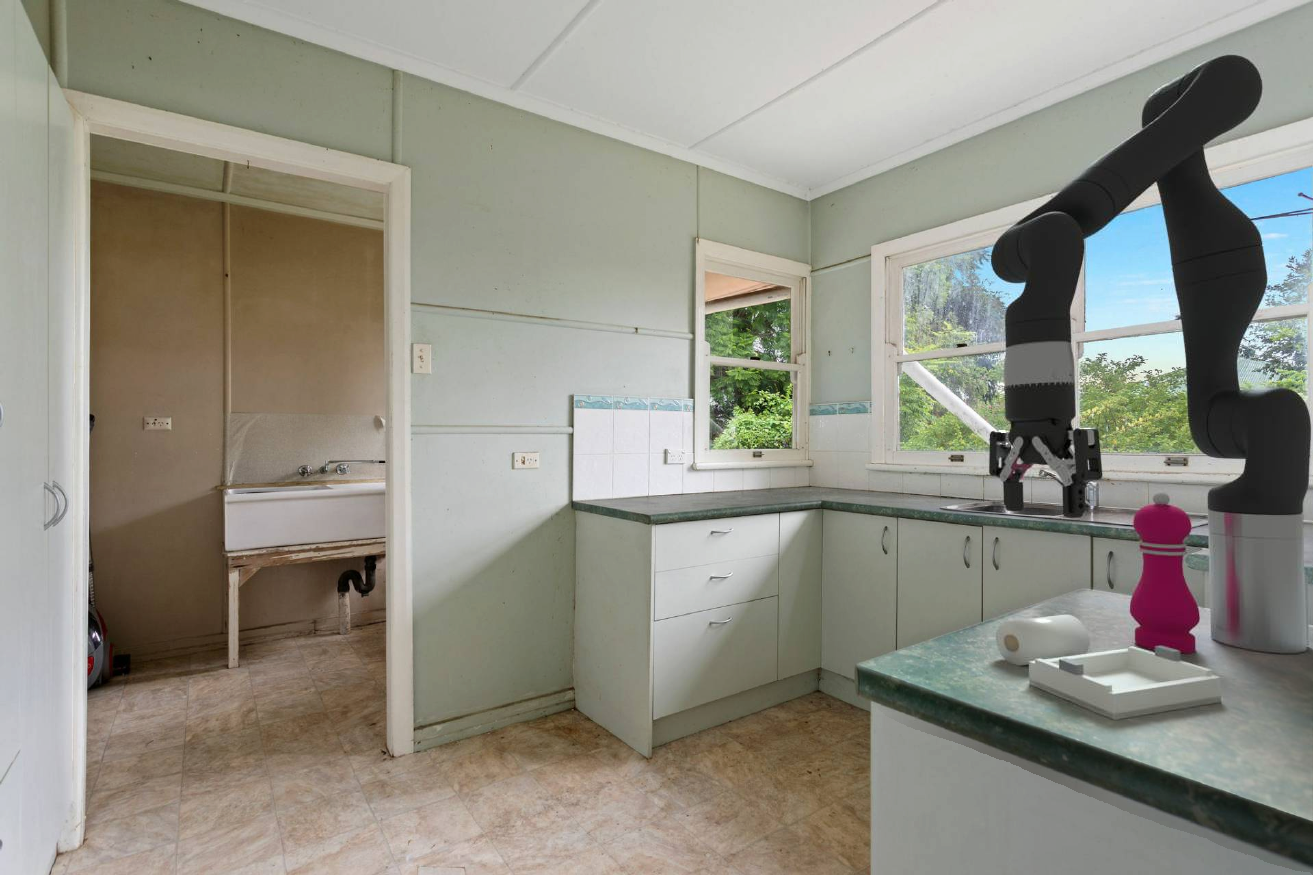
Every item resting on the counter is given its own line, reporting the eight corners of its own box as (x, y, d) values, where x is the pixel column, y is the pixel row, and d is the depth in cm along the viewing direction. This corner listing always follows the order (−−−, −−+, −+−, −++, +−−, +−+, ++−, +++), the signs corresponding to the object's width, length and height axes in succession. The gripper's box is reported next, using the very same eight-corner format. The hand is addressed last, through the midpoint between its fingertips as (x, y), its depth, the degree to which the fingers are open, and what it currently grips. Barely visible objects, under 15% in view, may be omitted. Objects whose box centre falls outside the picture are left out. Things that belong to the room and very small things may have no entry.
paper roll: (1057, 653, 84) (1052, 612, 85) (1094, 661, 79) (1088, 617, 80) (996, 661, 82) (991, 618, 82) (1030, 670, 77) (1024, 624, 77)
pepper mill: (1214, 656, 81) (1210, 494, 81) (1148, 653, 83) (1144, 494, 83) (1180, 639, 88) (1176, 490, 88) (1119, 636, 90) (1116, 490, 90)
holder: (1127, 669, 77) (1126, 635, 77) (1221, 701, 67) (1220, 662, 67) (1028, 684, 73) (1027, 648, 73) (1113, 720, 63) (1112, 678, 63)
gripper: (1117, 376, 75) (1120, 518, 75) (1016, 387, 89) (1020, 507, 89) (1065, 376, 73) (1069, 522, 73) (971, 387, 87) (974, 510, 87)
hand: (1042, 514), depth 81 cm, fingers open, 8 cm apart
